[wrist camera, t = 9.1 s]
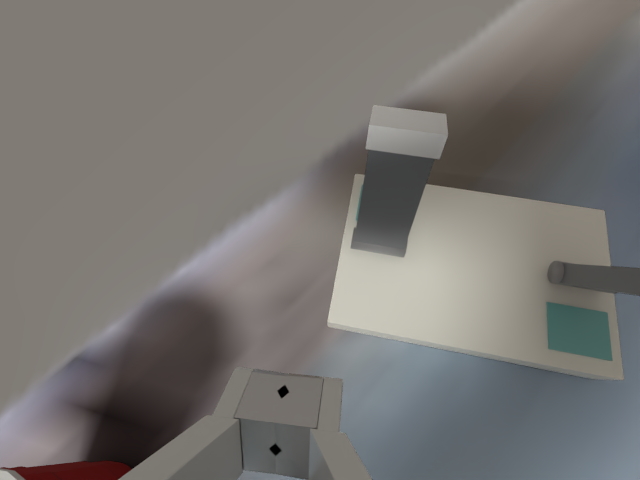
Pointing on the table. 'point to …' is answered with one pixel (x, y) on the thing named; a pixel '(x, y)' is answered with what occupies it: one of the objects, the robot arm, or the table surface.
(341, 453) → the robot arm
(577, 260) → the switch panel
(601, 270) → the lever
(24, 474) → the plastic cup
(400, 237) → the lever
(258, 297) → the table surface
